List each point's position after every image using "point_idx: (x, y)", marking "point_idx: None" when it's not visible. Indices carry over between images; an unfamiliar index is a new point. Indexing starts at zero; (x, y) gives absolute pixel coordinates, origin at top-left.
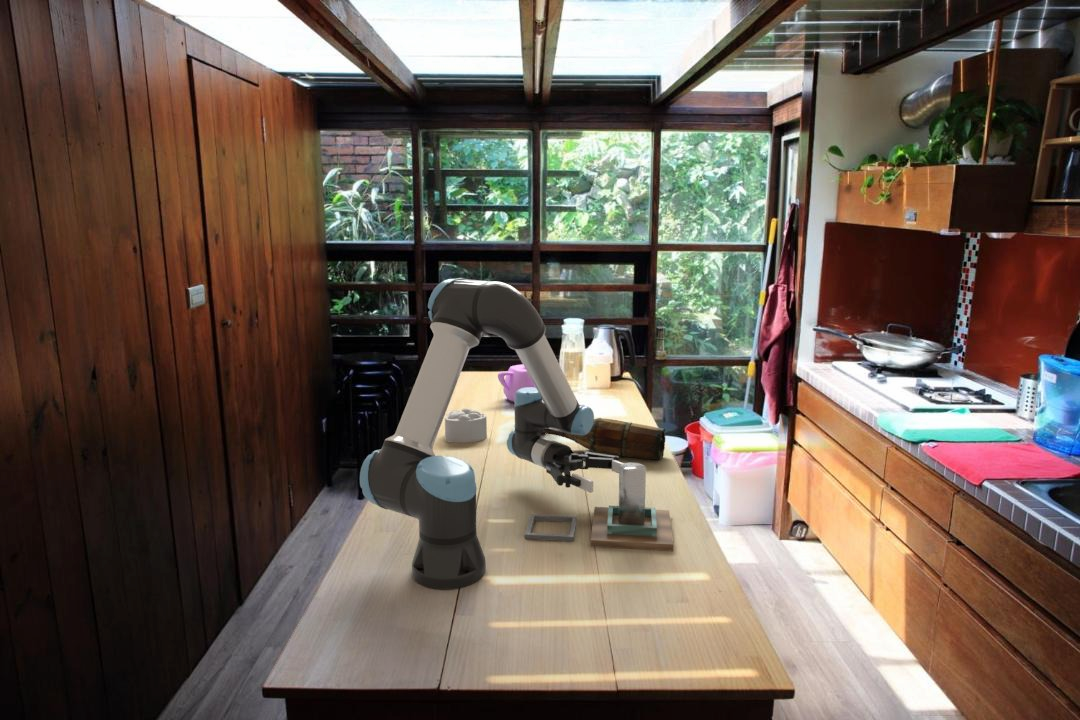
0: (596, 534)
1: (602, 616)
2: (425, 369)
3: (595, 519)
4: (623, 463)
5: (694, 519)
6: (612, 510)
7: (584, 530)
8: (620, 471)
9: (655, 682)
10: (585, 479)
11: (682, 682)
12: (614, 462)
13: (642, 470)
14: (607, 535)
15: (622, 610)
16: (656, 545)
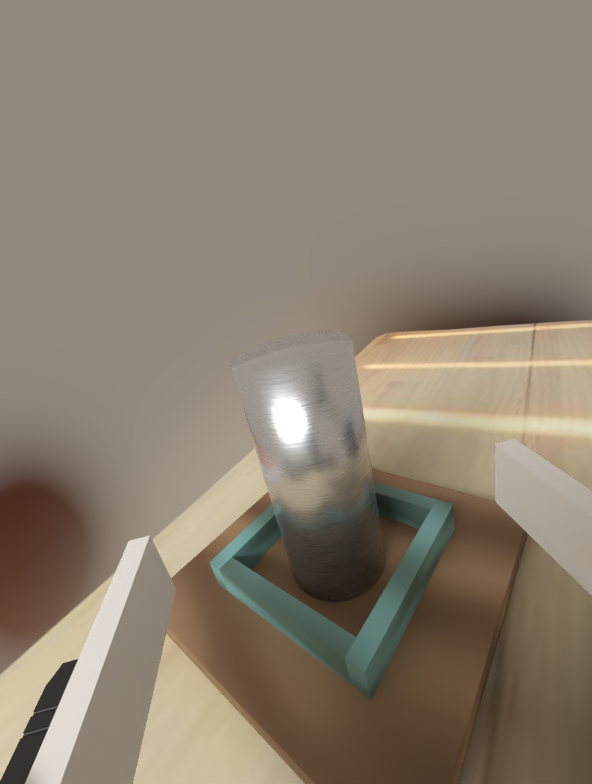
0: (498, 536)
1: (535, 369)
2: None
3: (470, 659)
4: (94, 630)
5: None
6: (375, 607)
7: (543, 653)
8: (353, 353)
9: (491, 328)
10: (554, 467)
11: (464, 329)
12: (80, 749)
13: (280, 339)
14: (456, 520)
15: (497, 375)
16: None
